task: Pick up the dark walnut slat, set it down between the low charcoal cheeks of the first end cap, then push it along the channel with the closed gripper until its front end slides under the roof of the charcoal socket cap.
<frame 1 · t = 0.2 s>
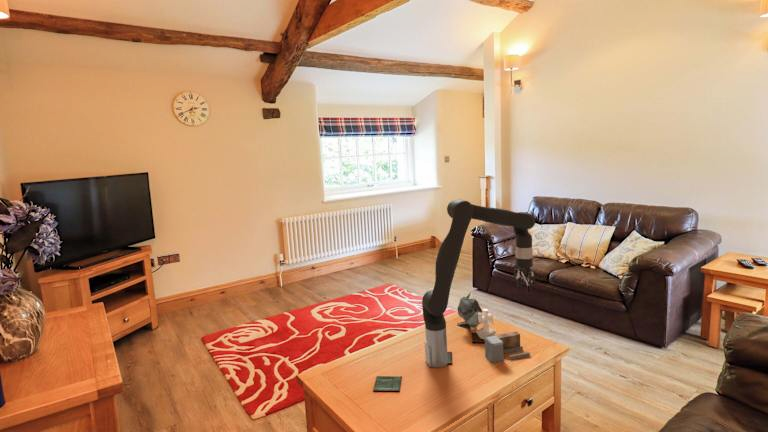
hand: (524, 290, 197), 28 cm above the table, fingers open, 8 cm apart
walnut slat: (504, 349, 201), on the table
figurine: (486, 338, 213), on the table
socket end cap: (494, 358, 193), on the table
narwhal figurine: (470, 329, 224), on the table
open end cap: (515, 354, 195), on the table
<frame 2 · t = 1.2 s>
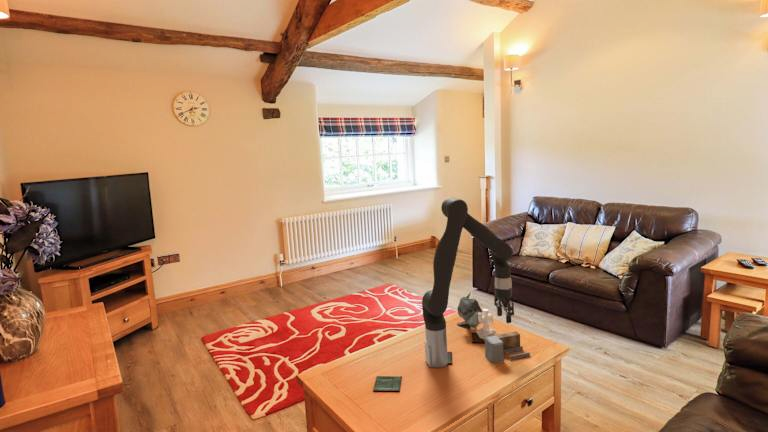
hand: (504, 319, 198), 15 cm above the table, fingers open, 8 cm apart
nothing on the table moved.
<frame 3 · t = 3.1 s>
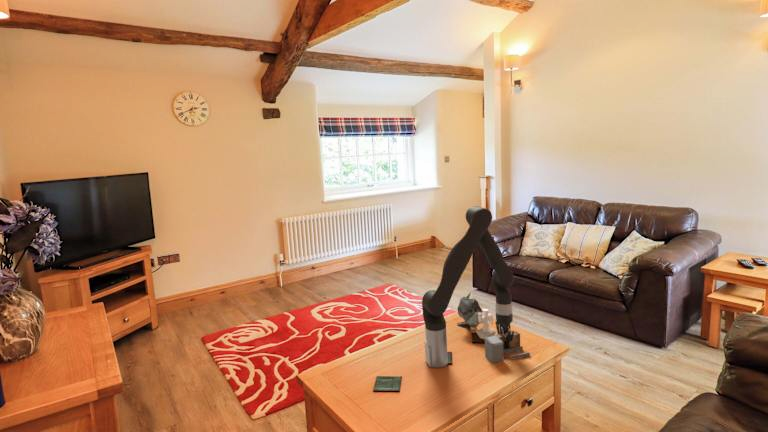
hand: (504, 345, 201), 1 cm above the table, fingers closed on walnut slat, 3 cm apart
walnut slat: (504, 348, 201), on the table, touching gripper
everything else where it was.
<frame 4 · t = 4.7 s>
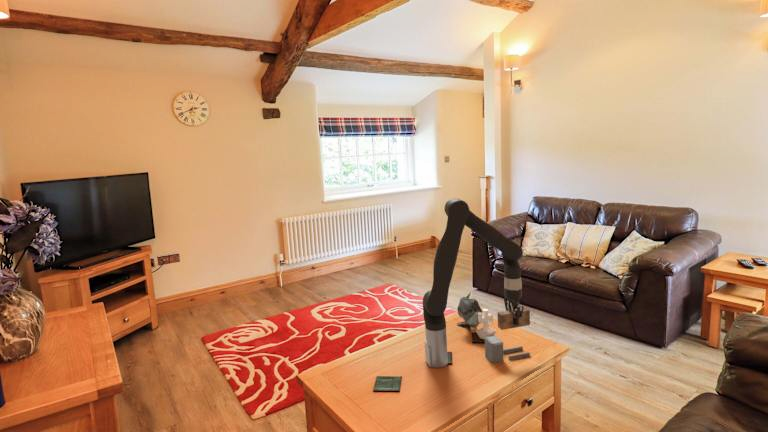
hand: (513, 322, 193), 15 cm above the table, fingers closed on walnut slat, 3 cm apart
walnut slat: (513, 326, 193), point 14 cm above the table, touching gripper
everything else where it was.
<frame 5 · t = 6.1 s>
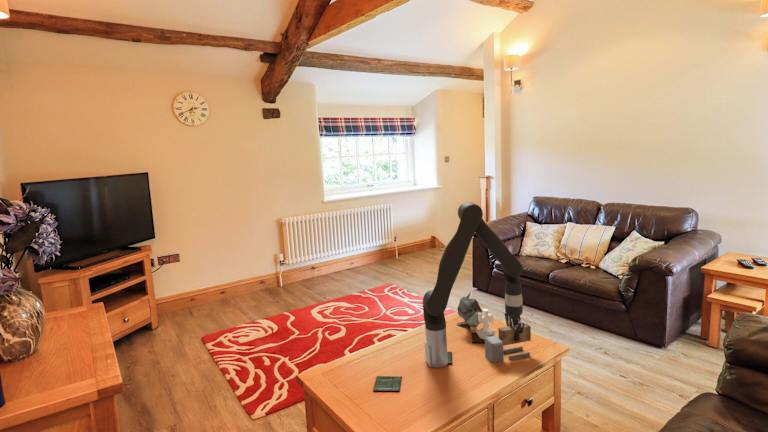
hand: (514, 338, 194), 8 cm above the table, fingers closed on walnut slat, 3 cm apart
walnut slat: (514, 341, 194), point 6 cm above the table, touching gripper
everything else where it was.
when the fingers open (2 cm above the table, at t = 7.4 s): walnut slat drops 1 cm, on the table.
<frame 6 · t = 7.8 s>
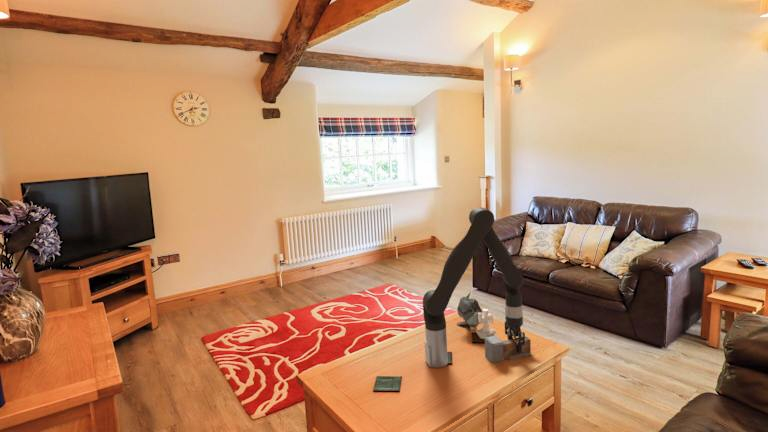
hand: (514, 348, 194), 3 cm above the table, fingers open, 7 cm apart
walnut slat: (514, 354, 195), on the table
everything else where it was.
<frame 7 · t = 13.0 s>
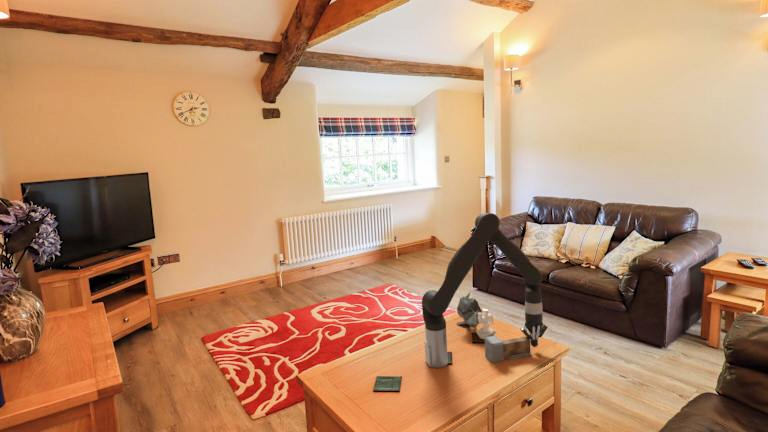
hand: (534, 346, 196), 2 cm above the table, fingers closed
walnut slat: (514, 354, 195), on the table, touching gripper
everything else where it was.
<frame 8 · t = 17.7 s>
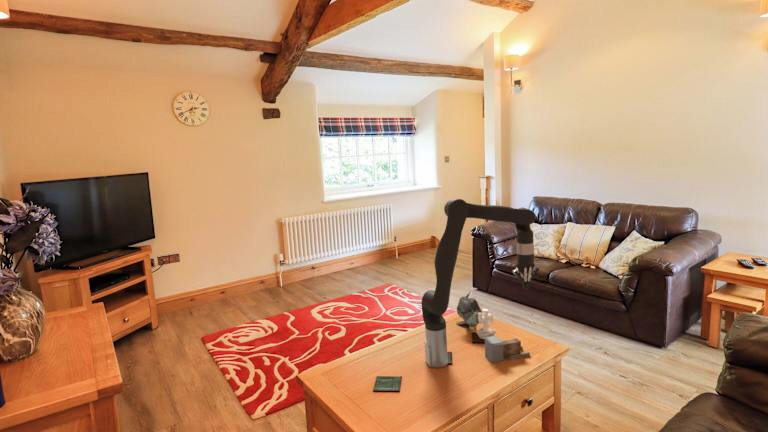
hand: (526, 288, 196), 29 cm above the table, fingers closed
walnut slat: (505, 356, 194), on the table
everything else where it was.
at the end: walnut slat 0.1 cm from the target spot, on the table; walnut slat tilted 0°; the gripper is holding nothing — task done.
